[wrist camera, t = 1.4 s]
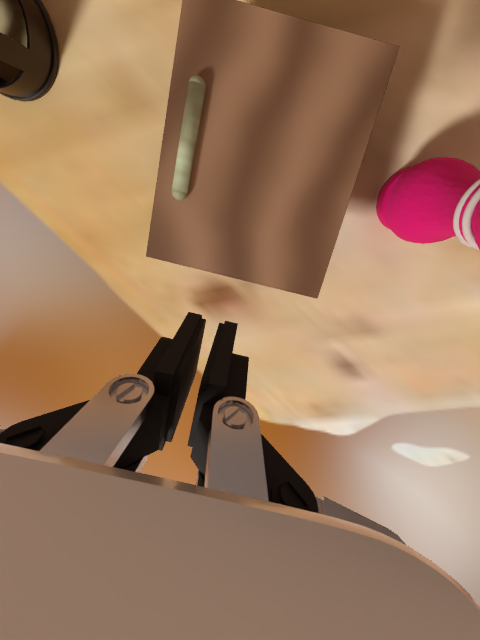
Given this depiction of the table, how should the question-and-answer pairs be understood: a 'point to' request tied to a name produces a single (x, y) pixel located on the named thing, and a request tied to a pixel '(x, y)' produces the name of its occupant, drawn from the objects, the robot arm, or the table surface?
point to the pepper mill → (433, 202)
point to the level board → (263, 142)
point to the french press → (31, 55)
